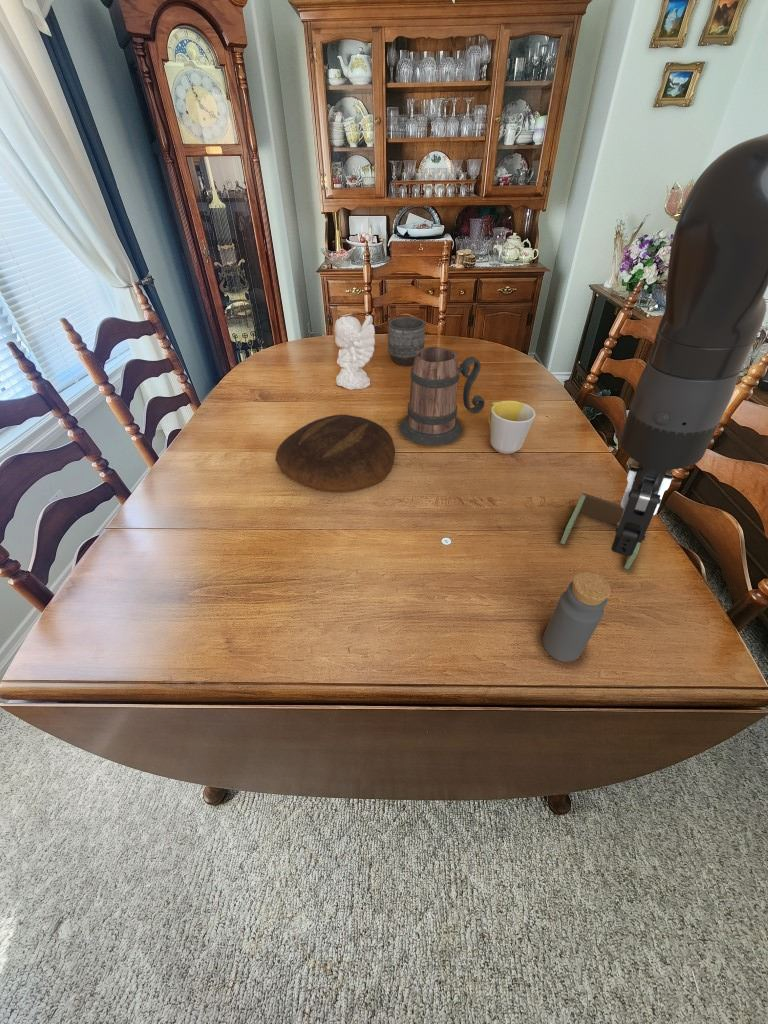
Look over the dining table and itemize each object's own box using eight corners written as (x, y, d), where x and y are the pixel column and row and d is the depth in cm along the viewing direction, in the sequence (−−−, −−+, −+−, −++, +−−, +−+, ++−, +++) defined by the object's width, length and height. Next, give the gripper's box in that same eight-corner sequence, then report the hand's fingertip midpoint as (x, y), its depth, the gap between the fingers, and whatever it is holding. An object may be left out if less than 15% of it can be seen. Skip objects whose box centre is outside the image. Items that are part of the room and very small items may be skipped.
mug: (532, 457, 104) (543, 419, 97) (492, 461, 103) (499, 423, 96) (512, 428, 114) (520, 392, 107) (475, 431, 113) (481, 395, 106)
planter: (430, 360, 148) (432, 321, 139) (408, 371, 141) (409, 332, 133) (403, 351, 154) (404, 314, 145) (380, 361, 147) (380, 323, 139)
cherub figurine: (336, 372, 141) (331, 308, 128) (374, 371, 142) (372, 307, 128) (335, 391, 131) (329, 323, 118) (376, 389, 132) (374, 322, 118)
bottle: (586, 662, 64) (623, 603, 54) (547, 662, 65) (576, 602, 55) (574, 628, 69) (606, 568, 59) (537, 628, 69) (563, 567, 59)
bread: (417, 452, 106) (418, 421, 100) (351, 514, 90) (349, 481, 84) (328, 420, 118) (324, 391, 112) (255, 470, 101) (247, 438, 95)
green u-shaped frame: (639, 531, 85) (649, 514, 82) (628, 569, 78) (638, 553, 75) (576, 508, 90) (582, 492, 87) (560, 543, 83) (566, 526, 80)
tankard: (414, 450, 107) (417, 374, 93) (390, 418, 119) (390, 346, 105) (496, 433, 113) (510, 358, 99) (466, 404, 124) (475, 334, 111)
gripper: (717, 457, 35) (654, 581, 46) (726, 382, 43) (671, 501, 54) (617, 438, 38) (580, 558, 49) (643, 371, 47) (607, 486, 58)
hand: (628, 528), depth 52 cm, fingers open, 8 cm apart
